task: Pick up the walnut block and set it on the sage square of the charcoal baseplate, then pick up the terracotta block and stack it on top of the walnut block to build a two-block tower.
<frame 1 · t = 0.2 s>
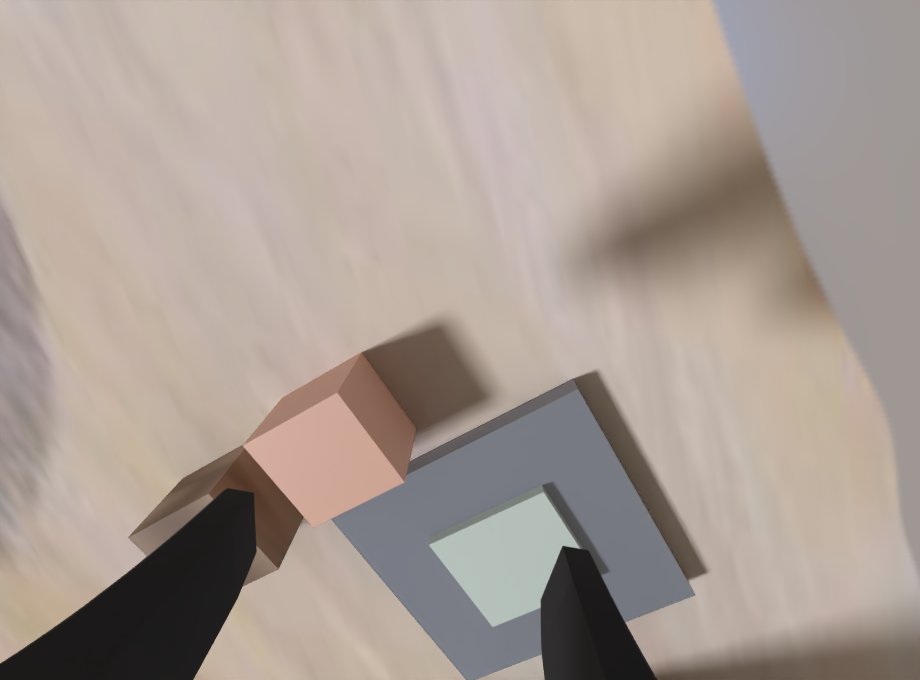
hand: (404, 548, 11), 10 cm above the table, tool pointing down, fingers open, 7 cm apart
slate baseplate: (513, 540, 24), on the table
walnut block: (247, 491, 24), on the table
terracotta block: (350, 412, 22), on the table
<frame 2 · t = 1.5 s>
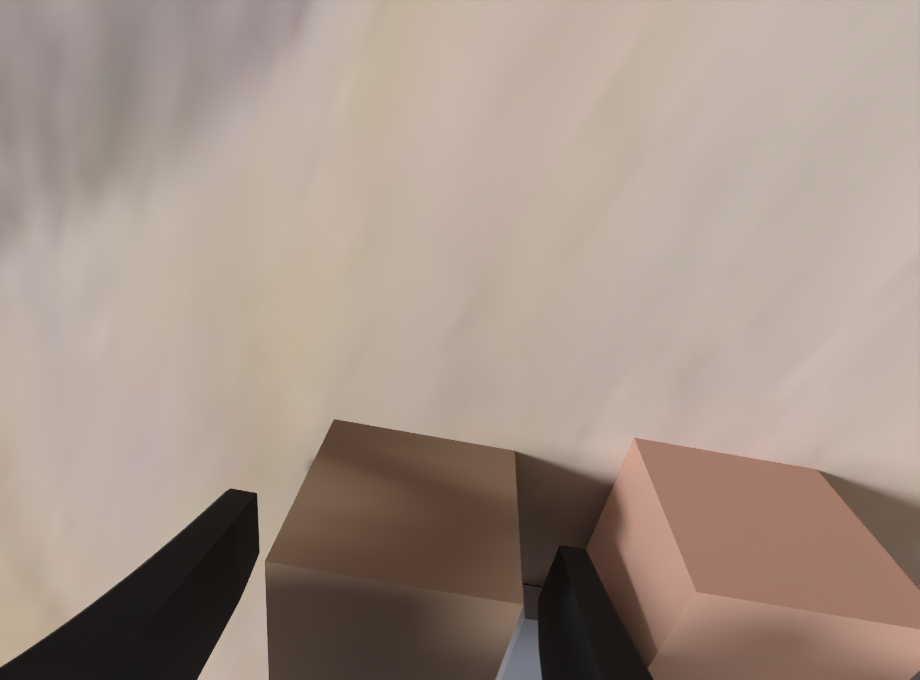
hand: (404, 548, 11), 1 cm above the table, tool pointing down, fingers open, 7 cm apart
walnut block: (414, 497, 13), on the table
terracotta block: (687, 514, 12), on the table, touching gripper
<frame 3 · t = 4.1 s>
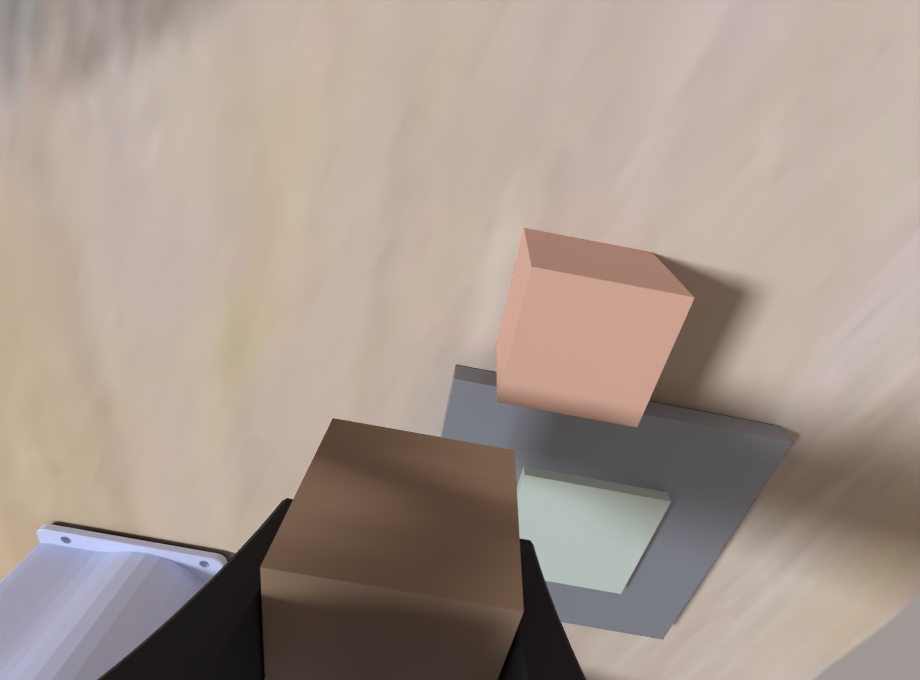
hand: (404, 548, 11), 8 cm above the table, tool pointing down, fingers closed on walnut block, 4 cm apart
slate baseplate: (571, 511, 22), on the table
walnut block: (412, 499, 12), point 7 cm above the table, touching gripper
terracotta block: (569, 298, 17), on the table
when the fingers open (4 cm above the table, at t = 6.1 s): walnut block stays where it is, resting on slate baseplate.
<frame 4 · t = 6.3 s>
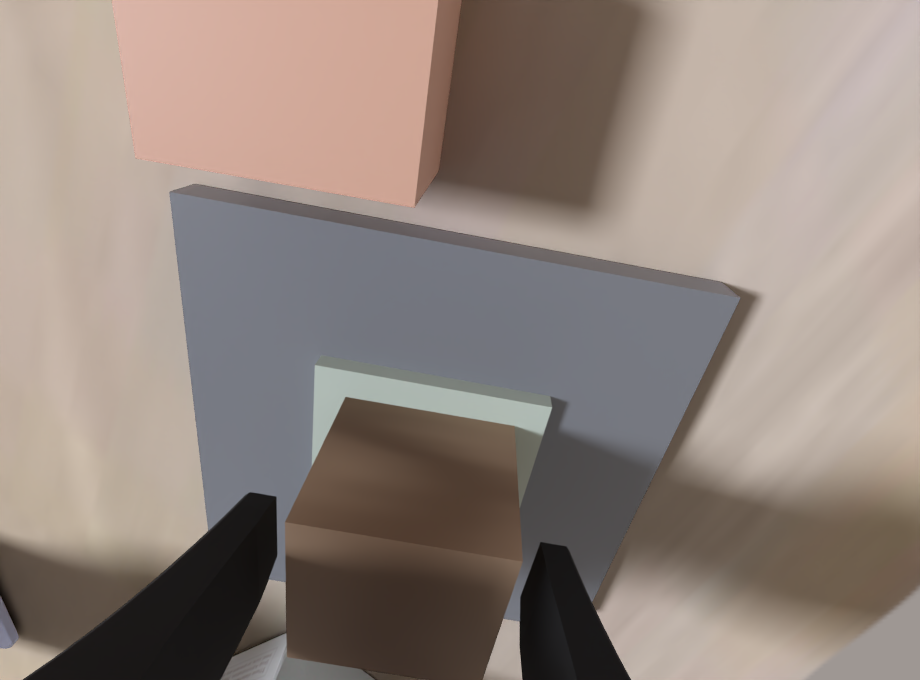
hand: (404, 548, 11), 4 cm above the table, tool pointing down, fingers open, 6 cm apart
slate baseplate: (425, 440, 15), on the table
walnut block: (419, 474, 13), point 1 cm above the table, touching slate baseplate
terracotta block: (350, 42, 10), on the table
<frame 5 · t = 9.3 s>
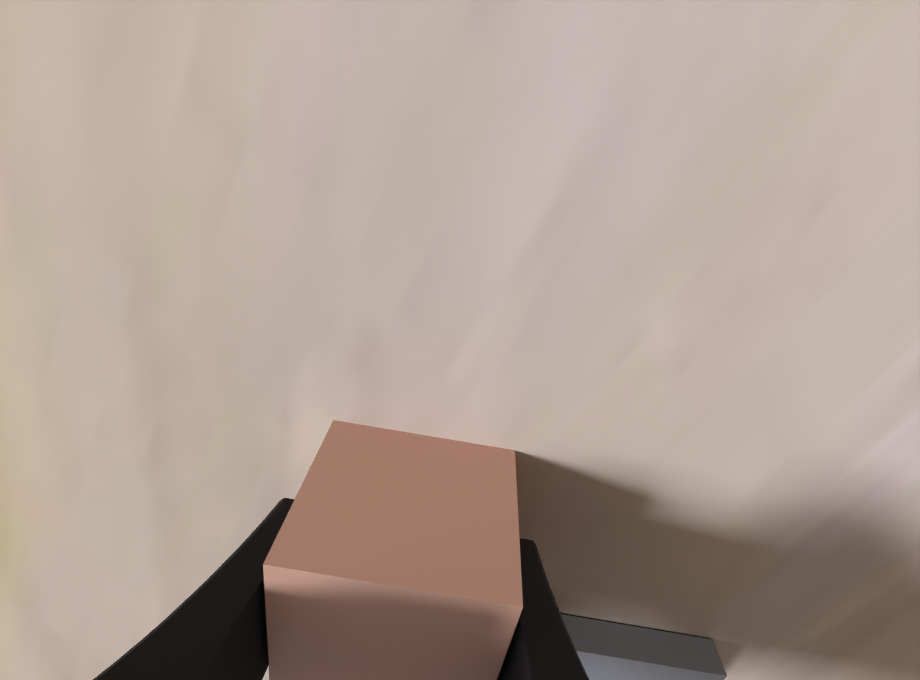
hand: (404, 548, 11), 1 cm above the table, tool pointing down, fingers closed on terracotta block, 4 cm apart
terracotta block: (414, 497, 13), on the table, touching gripper
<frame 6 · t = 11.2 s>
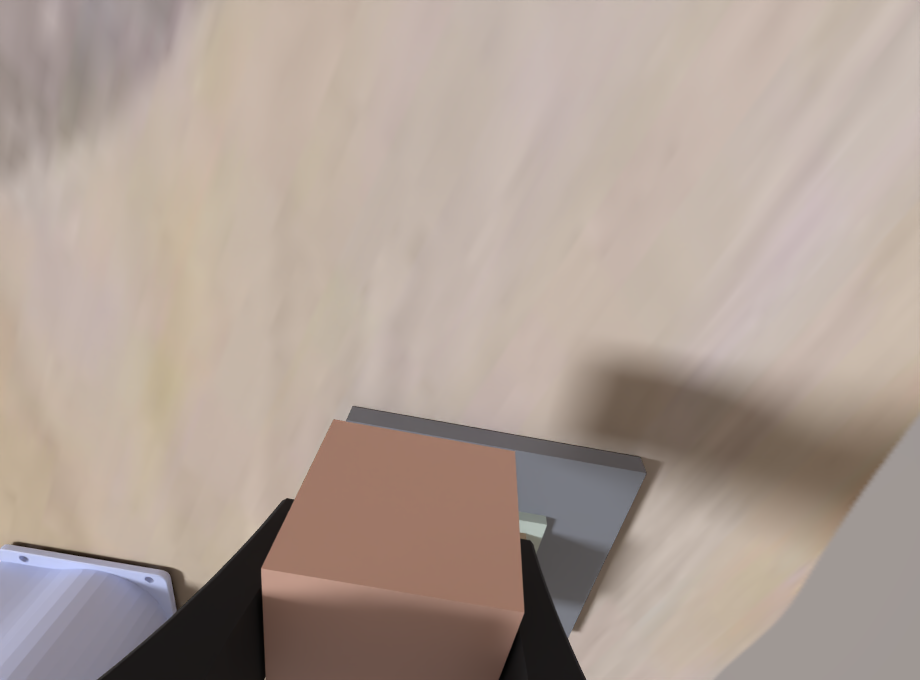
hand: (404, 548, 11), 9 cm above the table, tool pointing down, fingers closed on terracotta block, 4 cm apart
slate baseplate: (471, 531, 24), on the table
terracotta block: (413, 500, 12), point 8 cm above the table, touching gripper
when the fingers open (8 cm above the table, at t = 13.0 s): terracotta block drops 1 cm, resting on walnut block.
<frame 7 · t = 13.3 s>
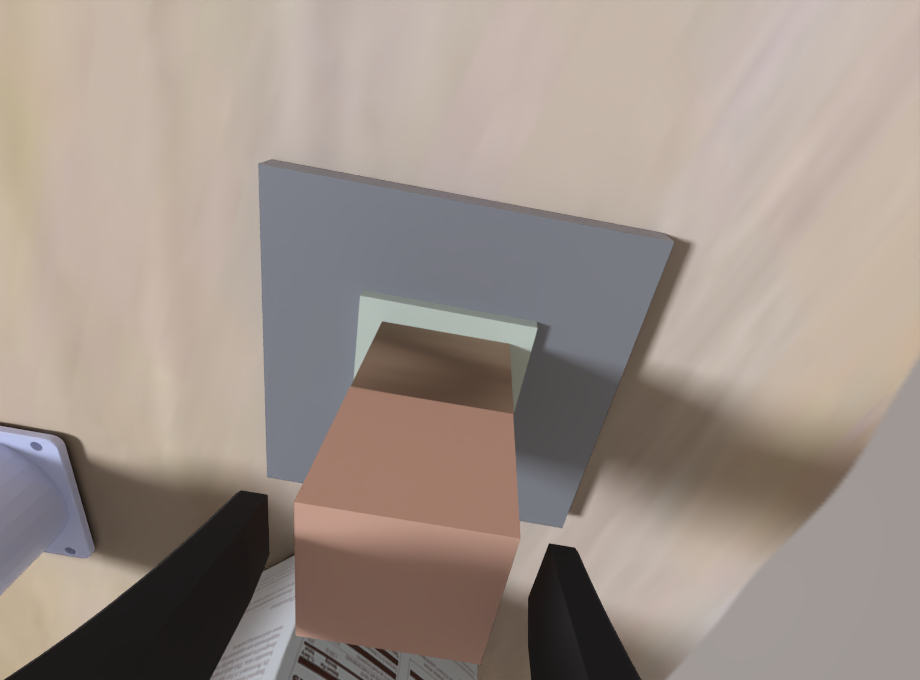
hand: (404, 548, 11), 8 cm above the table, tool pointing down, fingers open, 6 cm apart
slate baseplate: (440, 365, 19), on the table
supplement box: (306, 643, 29), on the table
walnut block: (436, 385, 17), point 1 cm above the table, touching slate baseplate, terracotta block
terracotta block: (422, 462, 14), point 5 cm above the table, touching walnut block
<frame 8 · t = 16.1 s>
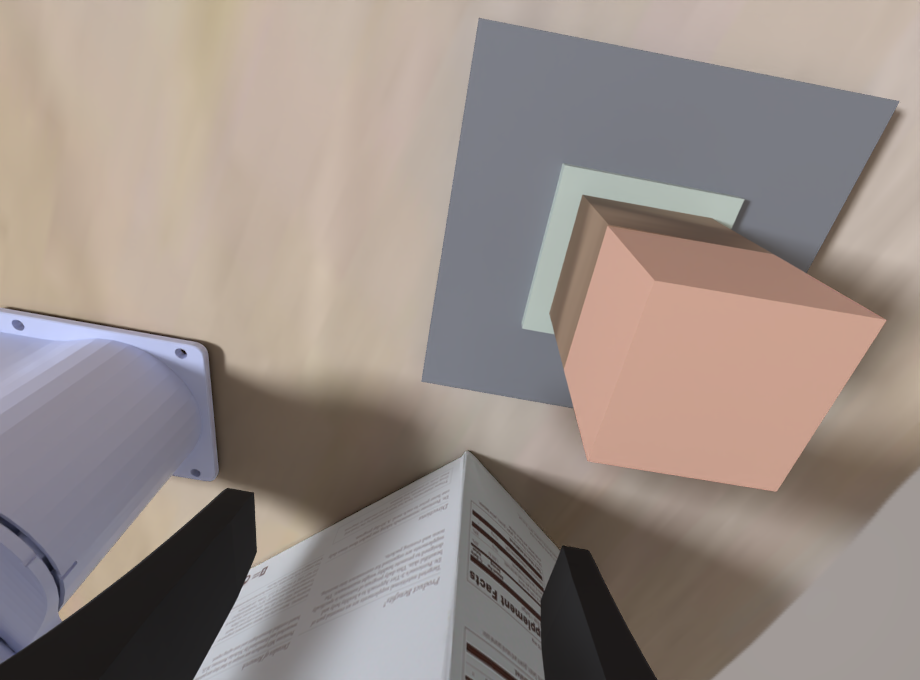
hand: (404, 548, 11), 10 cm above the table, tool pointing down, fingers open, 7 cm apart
slate baseplate: (614, 255, 18), on the table
supplement box: (417, 577, 28), on the table
walnut block: (625, 268, 17), point 1 cm above the table, touching slate baseplate, terracotta block
terracotta block: (661, 316, 13), point 5 cm above the table, touching walnut block
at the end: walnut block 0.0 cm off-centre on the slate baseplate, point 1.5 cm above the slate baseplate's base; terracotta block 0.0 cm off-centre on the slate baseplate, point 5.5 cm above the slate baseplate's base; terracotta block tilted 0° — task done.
